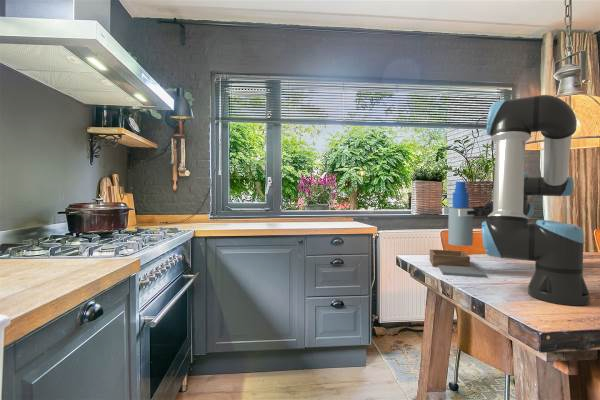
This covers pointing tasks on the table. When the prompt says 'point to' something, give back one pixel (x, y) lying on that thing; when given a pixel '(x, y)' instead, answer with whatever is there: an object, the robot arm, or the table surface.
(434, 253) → the walnut collar
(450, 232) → the spray bottle
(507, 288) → the table surface
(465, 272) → the rubber mat
